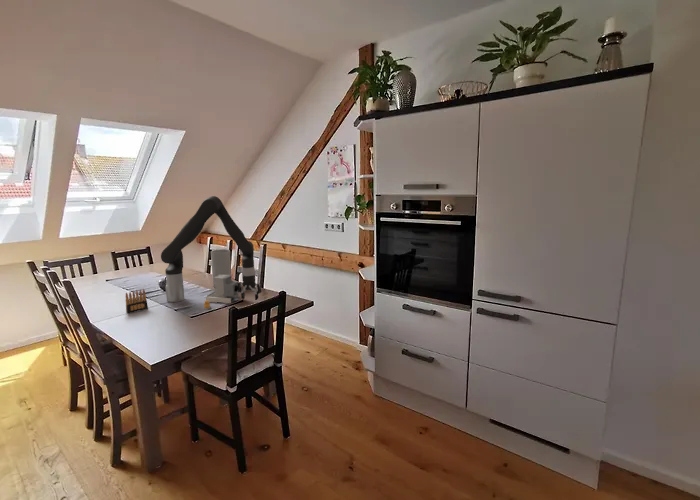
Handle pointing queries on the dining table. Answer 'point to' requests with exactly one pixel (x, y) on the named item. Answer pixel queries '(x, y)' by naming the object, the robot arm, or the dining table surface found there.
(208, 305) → the orange wire nut
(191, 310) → the dining table surface
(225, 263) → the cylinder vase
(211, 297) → the panel slot
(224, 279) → the circuit breaker
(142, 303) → the ammunition clip
